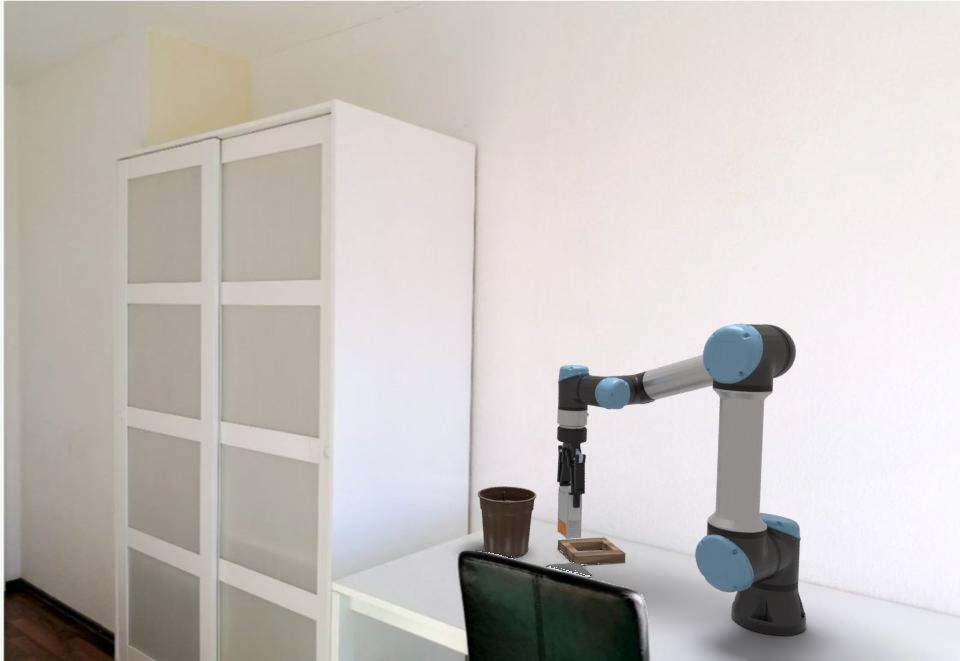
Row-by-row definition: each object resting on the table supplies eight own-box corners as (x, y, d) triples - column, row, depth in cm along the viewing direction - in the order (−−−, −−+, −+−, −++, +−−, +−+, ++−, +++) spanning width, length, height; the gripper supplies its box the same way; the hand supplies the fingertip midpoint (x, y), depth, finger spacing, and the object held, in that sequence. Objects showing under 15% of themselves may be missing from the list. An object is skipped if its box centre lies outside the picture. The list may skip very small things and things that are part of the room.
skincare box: (556, 532, 191) (557, 486, 191) (571, 531, 192) (573, 485, 192) (566, 539, 185) (567, 491, 185) (581, 538, 187) (583, 490, 186)
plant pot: (518, 565, 193) (519, 504, 193) (465, 554, 201) (466, 495, 201) (544, 548, 207) (546, 491, 207) (494, 538, 215) (495, 483, 215)
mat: (591, 577, 186) (591, 574, 186) (557, 579, 184) (557, 576, 184) (578, 564, 194) (578, 562, 194) (546, 567, 192) (546, 564, 192)
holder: (625, 562, 197) (625, 553, 197) (575, 565, 194) (576, 556, 194) (604, 546, 211) (604, 537, 211) (557, 548, 207) (557, 539, 207)
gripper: (600, 432, 180) (598, 526, 180) (572, 420, 198) (570, 505, 199) (571, 432, 178) (569, 527, 179) (546, 420, 196) (543, 506, 197)
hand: (569, 515), depth 189 cm, fingers closed on skincare box, 6 cm apart
